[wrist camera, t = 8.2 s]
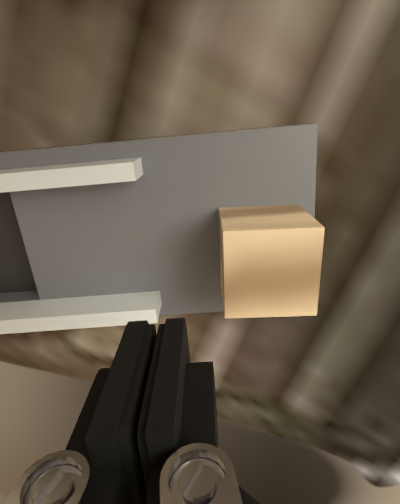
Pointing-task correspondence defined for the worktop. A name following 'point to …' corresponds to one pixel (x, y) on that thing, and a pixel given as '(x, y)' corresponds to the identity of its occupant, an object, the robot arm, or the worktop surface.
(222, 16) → the worktop surface
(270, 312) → the maple block
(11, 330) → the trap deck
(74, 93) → the worktop surface
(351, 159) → the worktop surface
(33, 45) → the worktop surface
